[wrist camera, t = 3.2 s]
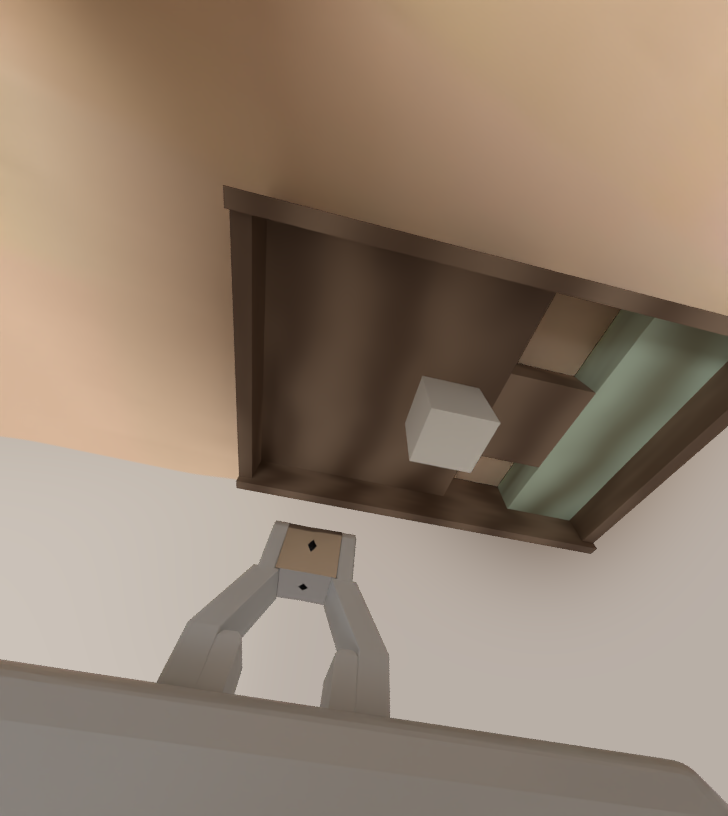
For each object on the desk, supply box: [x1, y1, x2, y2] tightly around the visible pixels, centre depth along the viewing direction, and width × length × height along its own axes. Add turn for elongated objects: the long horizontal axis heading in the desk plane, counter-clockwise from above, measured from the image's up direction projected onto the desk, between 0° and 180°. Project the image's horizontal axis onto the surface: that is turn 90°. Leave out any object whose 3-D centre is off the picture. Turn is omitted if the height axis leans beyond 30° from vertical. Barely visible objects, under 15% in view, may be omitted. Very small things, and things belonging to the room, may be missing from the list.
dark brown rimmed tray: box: [223, 185, 728, 554], centre depth 20 cm, size 30×19×5 cm, turn 78°
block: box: [405, 376, 500, 473], centre depth 18 cm, size 4×4×4 cm
